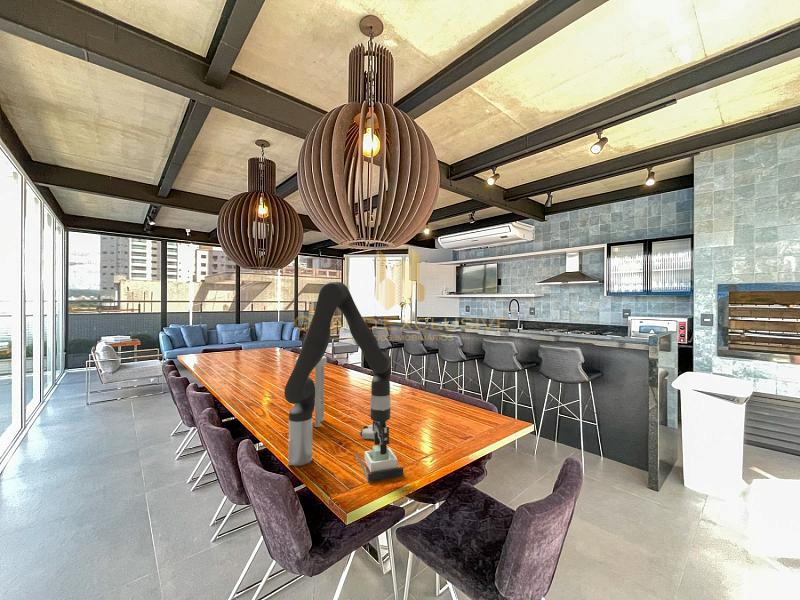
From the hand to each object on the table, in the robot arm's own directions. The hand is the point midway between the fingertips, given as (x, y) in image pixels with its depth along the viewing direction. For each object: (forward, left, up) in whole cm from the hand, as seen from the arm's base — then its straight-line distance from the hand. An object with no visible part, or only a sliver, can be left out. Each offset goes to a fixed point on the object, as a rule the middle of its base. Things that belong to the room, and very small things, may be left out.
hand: (380, 449), depth 125 cm
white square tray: (0, -1, -8) cm, 8 cm away
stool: (-21, +60, -9) cm, 65 cm away
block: (0, 0, -5) cm, 5 cm away
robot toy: (+6, +34, -9) cm, 35 cm away
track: (0, +3, -9) cm, 9 cm away
